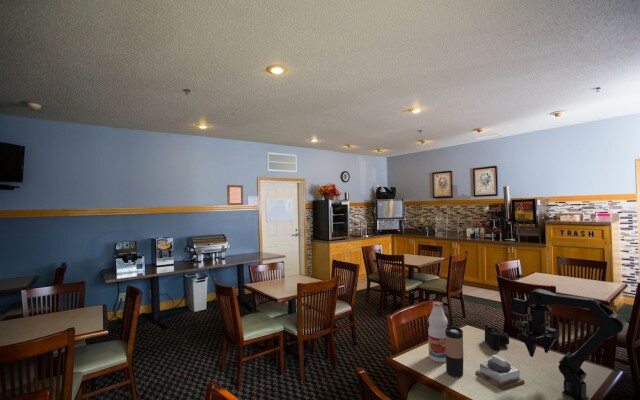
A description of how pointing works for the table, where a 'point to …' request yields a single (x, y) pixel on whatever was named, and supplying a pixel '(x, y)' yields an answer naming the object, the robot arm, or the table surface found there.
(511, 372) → the hollow square frame
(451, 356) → the travel mug
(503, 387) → the walnut plate
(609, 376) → the table surface
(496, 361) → the grey disc with handle
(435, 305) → the fruit juice
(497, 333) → the camera
